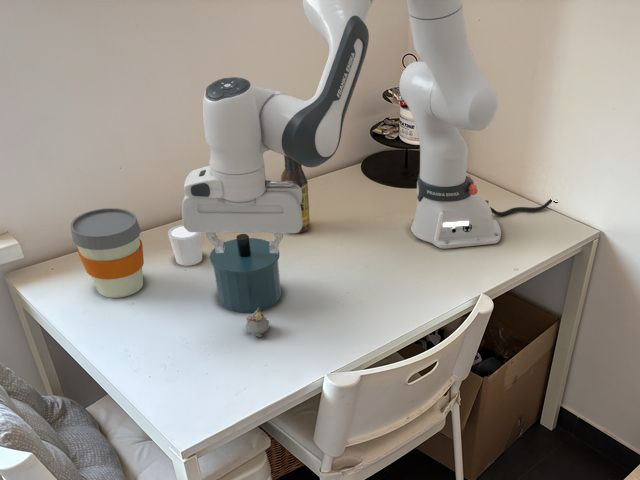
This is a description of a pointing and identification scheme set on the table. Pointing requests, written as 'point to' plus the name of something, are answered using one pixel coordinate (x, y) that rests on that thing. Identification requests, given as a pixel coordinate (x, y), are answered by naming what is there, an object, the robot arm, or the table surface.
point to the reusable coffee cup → (110, 250)
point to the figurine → (257, 323)
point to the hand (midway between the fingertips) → (247, 251)
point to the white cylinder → (185, 245)
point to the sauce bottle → (298, 177)
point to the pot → (248, 289)
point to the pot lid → (244, 256)
